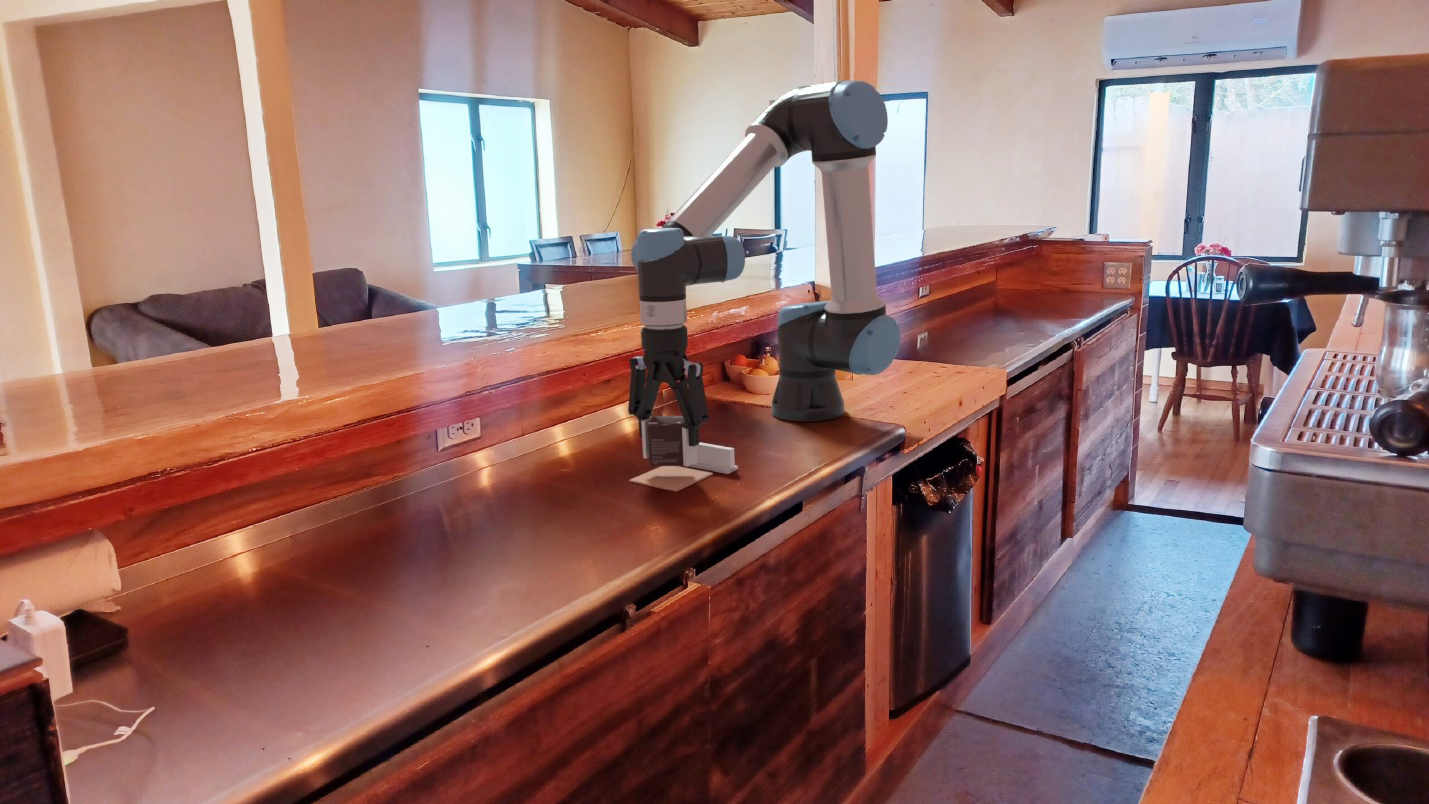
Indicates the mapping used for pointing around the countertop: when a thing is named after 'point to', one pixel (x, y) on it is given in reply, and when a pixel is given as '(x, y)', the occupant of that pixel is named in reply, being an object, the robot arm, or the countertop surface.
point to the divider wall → (715, 458)
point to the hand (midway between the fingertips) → (669, 460)
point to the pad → (671, 477)
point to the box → (666, 440)
